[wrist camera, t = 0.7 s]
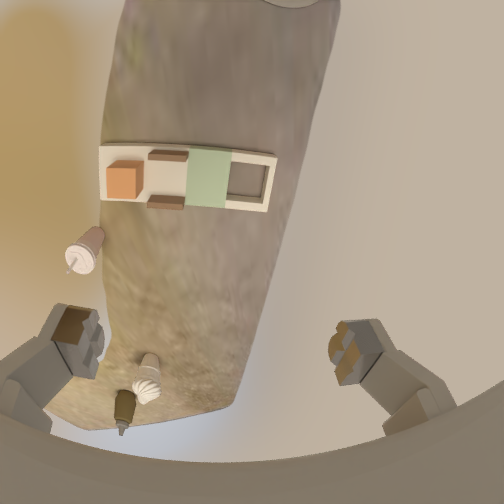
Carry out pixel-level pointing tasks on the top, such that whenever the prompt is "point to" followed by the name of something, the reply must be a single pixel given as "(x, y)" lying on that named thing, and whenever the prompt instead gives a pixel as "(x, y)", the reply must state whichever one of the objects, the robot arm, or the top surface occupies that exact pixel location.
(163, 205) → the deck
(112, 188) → the block
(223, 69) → the top surface
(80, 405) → the top surface
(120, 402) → the squeeze bottle
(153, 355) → the soft serve ice cream cone
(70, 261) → the smoothie
